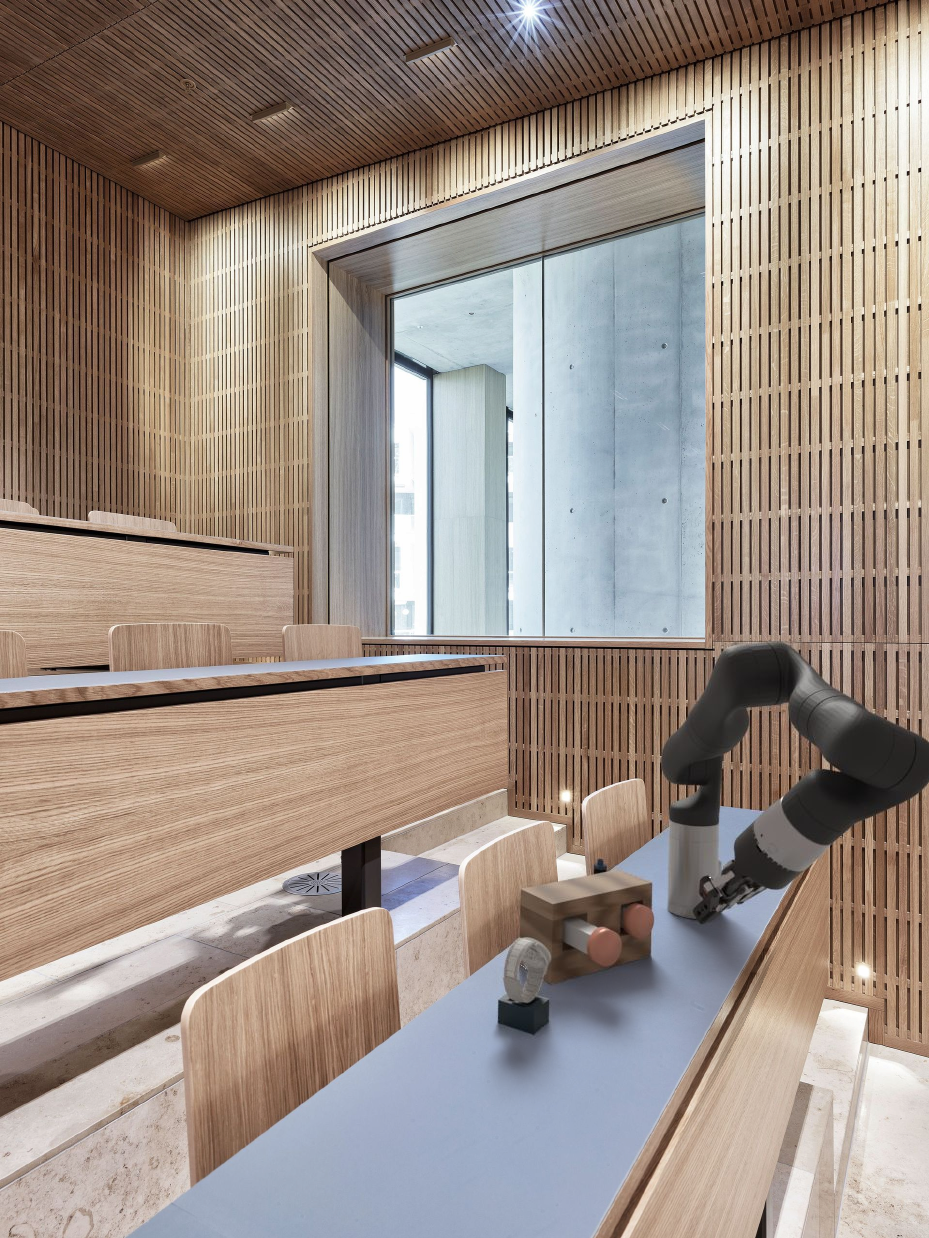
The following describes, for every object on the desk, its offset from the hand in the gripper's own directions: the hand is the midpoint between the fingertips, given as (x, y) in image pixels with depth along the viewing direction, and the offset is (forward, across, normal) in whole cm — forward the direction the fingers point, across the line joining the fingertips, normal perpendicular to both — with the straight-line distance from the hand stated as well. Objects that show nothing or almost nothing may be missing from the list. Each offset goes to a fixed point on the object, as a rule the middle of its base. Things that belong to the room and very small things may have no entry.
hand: (699, 917), depth 103 cm
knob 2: (+26, -11, -11) cm, 30 cm away
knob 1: (+23, +1, -7) cm, 24 cm away
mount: (+30, -5, -8) cm, 32 cm away
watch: (+23, +16, 0) cm, 28 cm away
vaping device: (+38, -16, -16) cm, 44 cm away
